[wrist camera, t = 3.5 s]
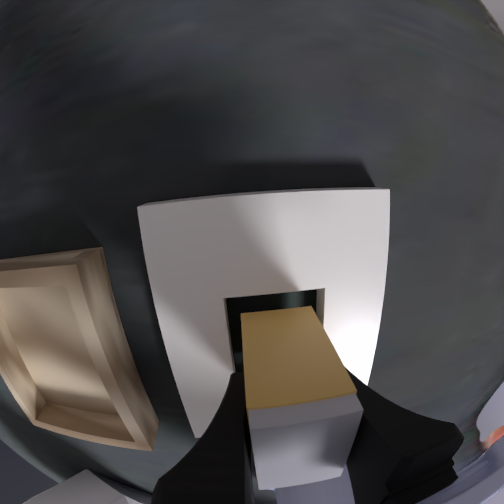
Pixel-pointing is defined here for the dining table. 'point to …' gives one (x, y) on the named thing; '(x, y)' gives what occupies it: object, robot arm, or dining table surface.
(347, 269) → the socket block
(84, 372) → the parts tray
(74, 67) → the dining table surface
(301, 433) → the block
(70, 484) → the white irregular angular block
